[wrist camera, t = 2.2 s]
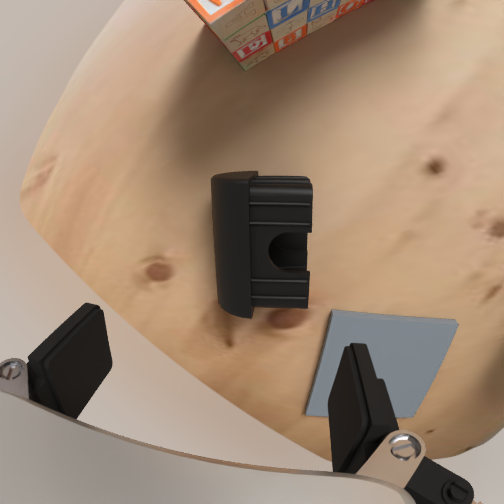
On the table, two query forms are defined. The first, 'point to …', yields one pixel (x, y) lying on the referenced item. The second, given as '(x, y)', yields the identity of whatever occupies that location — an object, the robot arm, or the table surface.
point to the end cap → (261, 240)
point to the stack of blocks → (266, 23)
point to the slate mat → (385, 355)
